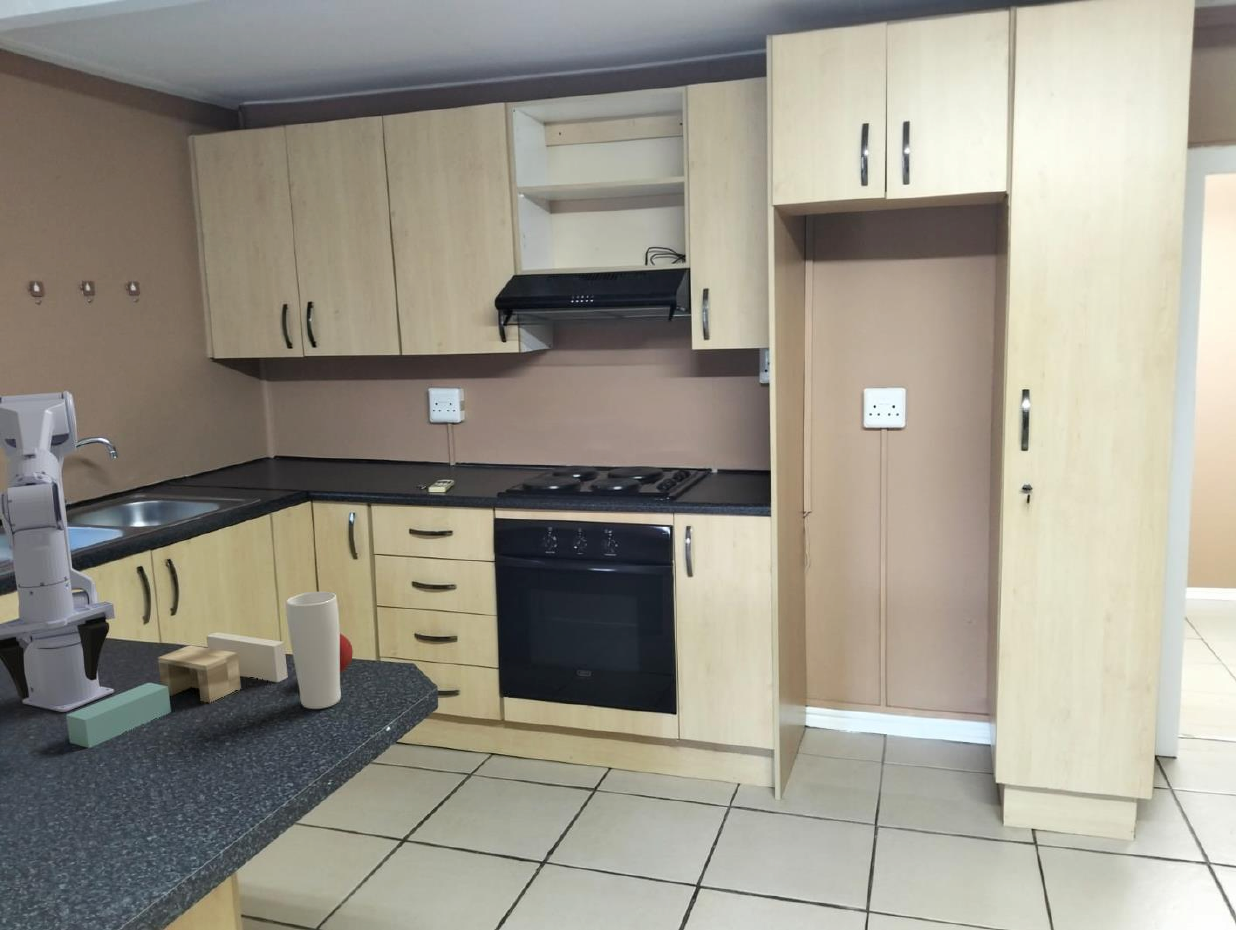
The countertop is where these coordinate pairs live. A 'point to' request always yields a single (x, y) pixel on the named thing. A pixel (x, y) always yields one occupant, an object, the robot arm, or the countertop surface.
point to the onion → (345, 653)
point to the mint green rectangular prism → (118, 714)
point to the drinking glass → (315, 647)
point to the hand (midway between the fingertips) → (58, 687)
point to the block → (200, 672)
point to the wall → (253, 655)
